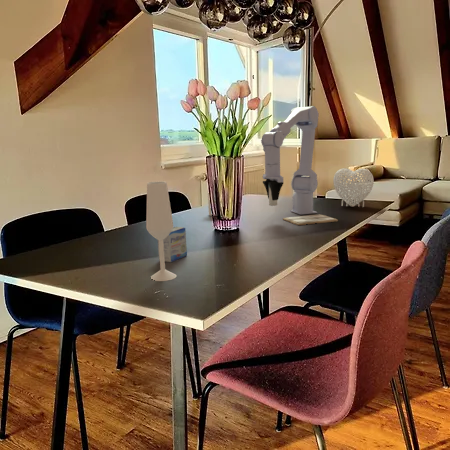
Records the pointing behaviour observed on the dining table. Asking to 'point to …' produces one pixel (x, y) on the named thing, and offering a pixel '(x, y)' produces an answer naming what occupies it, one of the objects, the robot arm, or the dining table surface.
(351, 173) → the decorative heart
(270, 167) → the robot arm
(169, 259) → the medicine box
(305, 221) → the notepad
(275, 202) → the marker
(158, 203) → the champagne flute
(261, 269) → the dining table surface
